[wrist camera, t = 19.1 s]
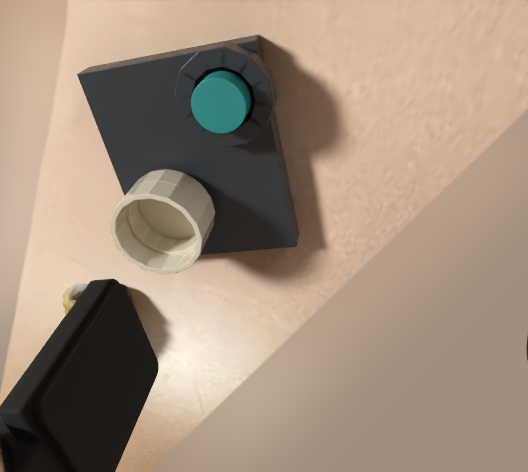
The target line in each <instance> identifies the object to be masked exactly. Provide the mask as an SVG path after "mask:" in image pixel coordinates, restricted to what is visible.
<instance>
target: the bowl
mask: <svg viewBox="0 0 528 472" xmlns="http://www.w3.org/2000/svg"><path fill="white" fill-rule="evenodd" d="M214 218H215V210H214V206H213V203H212V199H211V197H210V195H209V194H208V192H207V191H206V189H205V188H204V187H203V186H202V185H201V184H200V183H199V182H198V181H197V180H196V179H194V178H193V177H191V176H189V175H187V174H185V173H183V172H179V171H175V170H169V169H168V170H167V169H165V170H157V171H151V172H149V173H148V174H146V175H144V176H143V177H141V178H140V179H138V180H137V182H136V183H135V184H134V185H133V187H132V188H131V189H130V190H129V192H128V193H127V194H126V195H125V196H124V197H123V199H122V200H121V201H120V202H119V204H118V205H117V207H116V209H115V210H114V212H113V214H112V216H111V234H112V237H113V239H114V241H115V244H116V246H117V248H118V249H119V250H120V251H121V252H122V253H123V254H124V256H125V257H126V258H127V259H128V260H129V261H131V262H132V263H134V264H136V265H137V266H139V267H141V268H142V269H145V270H148V271H152V272H156V273H160V274H169V273H179V272H181V271H183V270H185V269H187V268H189V267H191V266H192V265H193V264H194V262H195V261H196V259H197V258H198V257H199V255H200V254H201V252H202V249H203V247H204V245H205V243H206V241H207V239H208V236H209V234H210V232H211V230H212V228H213V225H214Z"/></svg>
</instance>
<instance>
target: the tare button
mask: <svg viewBox="0 0 528 472" xmlns="http://www.w3.org/2000/svg"><path fill="white" fill-rule="evenodd" d="M250 105H251V95H250V91H249V89H248V87H247V85H246V83H245V82H244V81H243V80H242V79H241V78H240V77H239V76H237V75H236V74H233V73H231V72H228V71H217V72H213V73H211V74H209V75H208V76H206V77H205V78H204V79H203V80H202V81H201V83H200V84H199V85H198V86H197V87H196V88H195V90H194V92H193V94H192V98H191V107H192V112H193V114H194V116H195V118H196V120H197V121H198V122H199V124H200V125H202V126H203V127H204V128H205V129H207V130H209V131H211V132H214V133H229V132H231V131H234V130H235V129H237V128H238V127H239V126H240V125H241V124H242V122H243V121H244V119H245V117H246V115H247V113H248V111H249V109H250Z"/></svg>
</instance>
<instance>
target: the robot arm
mask: <svg viewBox="0 0 528 472" xmlns="http://www.w3.org/2000/svg"><path fill="white" fill-rule="evenodd" d="M527 359H528V338H527ZM157 373H158V361H157V358H156V356H155V353H154V351H153V349H152V347H151V344H150V342H149V340H148V337H147V335H146V333H145V330H144V328H143V326H142V324H141V321H140V319H139V317H138V314H137V312H136V310H135V308H134V305H133V303H132V301H131V298H130V296H129V294H128V292H127V289H126V287H125V286H124V285H122V284H119V282H118V281H117V280H115V279H106V280H94V281H91V282H90V283H89V284H88V286H87V287H86V288H85V290H84V291H83V292H82V294H81V295H80V297H79V298H78V299H77V301H76V302H75V304H74V305H73V306H72V308H71V309H70V310H69V312H68V313H67V315H66V316H65V317H64V319H63V320H62V321H61V323H60V324H59V326H58V327H57V328H56V330H55V331H54V333H53V334H52V335H51V337H50V338H49V339H48V341H47V342H46V344H45V345H44V346H43V348H42V349H41V350H40V352H39V353H38V355H37V356H36V357H35V359H34V360H33V362H32V363H31V364H30V366H29V367H28V368H27V370H26V371H25V373H24V374H23V375H22V377H21V378H20V380H19V381H18V382H17V384H16V385H15V386H14V388H13V389H12V391H11V392H10V393H9V395H8V396H7V397H6V399H5V400H4V402H3V403H2V404H1V406H0V472H115V471H116V468H117V466H118V464H119V461H120V459H121V457H122V455H123V452H124V450H125V448H126V445H127V443H128V441H129V438H130V436H131V434H132V432H133V429H134V427H135V425H136V422H137V420H138V418H139V415H140V413H141V411H142V409H143V406H144V404H145V402H146V399H147V397H148V395H149V392H150V390H151V388H152V386H153V383H154V381H155V379H156V376H157Z"/></svg>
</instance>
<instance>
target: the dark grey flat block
mask: <svg viewBox="0 0 528 472" xmlns="http://www.w3.org/2000/svg"><path fill="white" fill-rule="evenodd" d="M217 71H228V72H231V73H233V74H236V75H237V76H239V77H240V78H241V79H242V80H243V81H244V82H245V83H246V85H247V87H248V89H249V91H250V95H251V105H250V109H249V111H248V113H247V115H246V117H245V119H244V121H243V122H242V124H241V125H240V126H239V127H238V128H237V129H235V130H234V131H231V132H229V133H214V132H211V131H209V130H207V129H205V128H204V127H203V126H202V125H200V124H199V122H198V121H197V120H196V118H195V116H194V114H193V112H192V107H191V98H192V94H193V92H194V90H195V88H196V87H197V86H198V85H199V84H200V83H201V81H202V80H203V79H204V78H205V77H206V76H208V75H209V74H211V73H213V72H217ZM77 75H78V78H79V80H80V83H81V85H82V88H83V91H84V93H85V96H86V98H87V101H88V103H89V106H90V108H91V111H92V113H93V116H94V119H95V121H96V124H97V126H98V129H99V131H100V134H101V136H102V139H103V142H104V144H105V147H106V149H107V152H108V154H109V157H110V159H111V162H112V165H113V167H114V170H115V172H116V175H117V177H118V180H119V182H120V185H121V188H122V190H123V193H124V195H126V194H127V193H128V192H129V190H130V189H131V188H132V187H133V185H134V184H135V183H136V182H137V180H138V179H140V178H141V177H143V176H144V175H146V174H148V173H149V172H151V171H157V170H165V169H167V170H168V169H169V170H175V171H179V172H183V173H185V174H187V175H189V176H191V177H193V178H194V179H196V180H197V181H198V182H199V183H200V184H201V185H202V186H203V187H204V188H205V189H206V191H207V192H208V194H209V195H210V197H211V199H212V203H213V206H214V210H215V218H214V225H213V228H212V230H211V232H210V234H209V236H208V239H207V241H206V243H205V245H204V247H203V249H202V252H201V254H200V255H203V254H214V253H226V252H238V251H250V250H262V249H273V248H285V247H296V246H297V241H298V236H299V232H298V227H297V222H296V217H295V212H294V207H293V202H292V197H291V192H290V187H289V182H288V177H287V172H286V167H285V162H284V157H283V152H282V147H281V142H280V137H279V132H278V127H277V122H276V117H275V112H274V105H275V103H276V100H277V96H276V90H275V85H274V80H273V75H272V73H271V70H270V69H269V68H268V67H267V66H266V64H265V62H264V57H263V52H262V47H261V42H260V37H259V35H254V36H249V37H244V38H239V39H234V40H228V41H223V42H218V43H213V44H208V45H202V46H197V47H192V48H187V49H182V50H176V51H171V52H166V53H161V54H156V55H150V56H145V57H140V58H135V59H130V60H124V61H119V62H114V63H109V64H104V65H98V66H93V67H89V68H87V69H85V70H84V71H82V72H80V73H78V74H77Z"/></svg>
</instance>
